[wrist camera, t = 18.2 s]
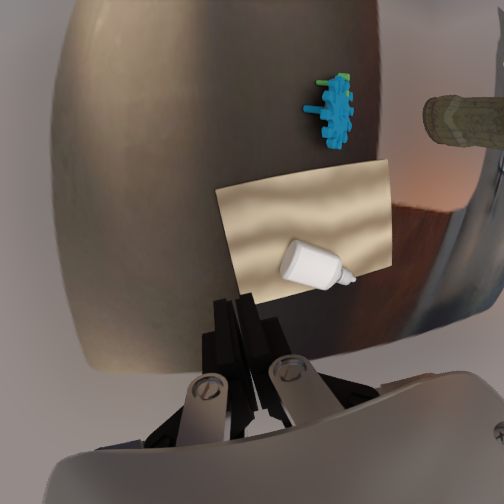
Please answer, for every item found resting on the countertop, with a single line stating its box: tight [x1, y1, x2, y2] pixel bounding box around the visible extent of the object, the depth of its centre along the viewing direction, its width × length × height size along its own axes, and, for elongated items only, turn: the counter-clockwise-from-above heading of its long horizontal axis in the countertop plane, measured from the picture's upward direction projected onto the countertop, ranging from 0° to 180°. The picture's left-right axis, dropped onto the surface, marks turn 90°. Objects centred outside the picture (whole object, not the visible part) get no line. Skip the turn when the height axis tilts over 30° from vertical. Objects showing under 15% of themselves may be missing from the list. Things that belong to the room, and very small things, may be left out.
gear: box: [303, 73, 354, 149], centre depth 32 cm, size 11×6×10 cm
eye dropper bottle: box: [280, 240, 356, 290], centre depth 40 cm, size 4×6×12 cm
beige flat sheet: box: [215, 159, 392, 304], centre depth 40 cm, size 18×26×1 cm
